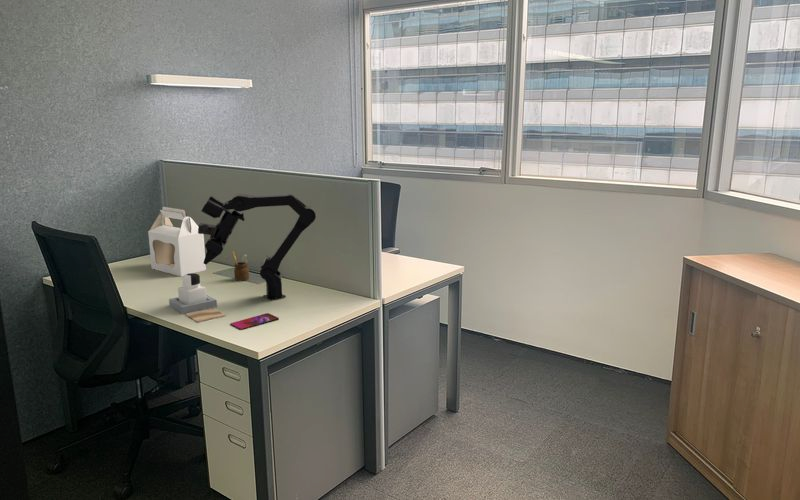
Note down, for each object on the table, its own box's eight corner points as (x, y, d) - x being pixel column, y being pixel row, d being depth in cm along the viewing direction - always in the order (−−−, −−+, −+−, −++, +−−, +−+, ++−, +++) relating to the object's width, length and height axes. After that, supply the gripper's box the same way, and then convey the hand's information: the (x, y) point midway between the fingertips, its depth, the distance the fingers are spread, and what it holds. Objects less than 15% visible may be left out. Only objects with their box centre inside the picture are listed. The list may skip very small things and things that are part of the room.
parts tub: (216, 306, 218) (216, 300, 217) (183, 314, 210) (182, 307, 209) (202, 298, 227) (202, 292, 227) (169, 305, 219) (169, 298, 219)
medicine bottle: (196, 301, 223) (194, 270, 221) (207, 305, 219) (205, 274, 216) (179, 306, 218) (176, 274, 215) (189, 310, 214) (187, 278, 211)
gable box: (151, 268, 269) (145, 207, 263) (176, 263, 280) (171, 204, 273) (181, 276, 257) (176, 212, 250) (206, 270, 267) (202, 208, 261)
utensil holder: (246, 281, 250) (244, 253, 247) (231, 280, 251) (230, 253, 248) (251, 277, 256) (249, 250, 253) (237, 277, 256) (235, 250, 254)
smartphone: (229, 323, 200) (267, 312, 210) (229, 325, 200) (267, 315, 210) (240, 329, 195) (279, 318, 205) (241, 331, 195) (280, 320, 205)
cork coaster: (225, 316, 208) (225, 315, 208) (197, 322, 202) (197, 321, 201) (212, 309, 215) (212, 307, 215) (185, 315, 209) (185, 313, 209)
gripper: (210, 210, 227) (190, 244, 228) (202, 218, 209) (181, 256, 211) (236, 224, 230) (217, 258, 231) (231, 234, 212) (210, 271, 213)
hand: (206, 260), depth 222 cm, fingers open, 9 cm apart
